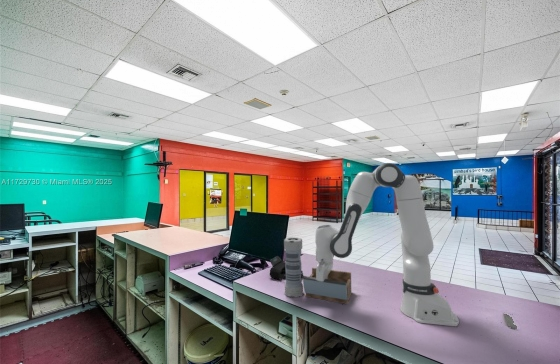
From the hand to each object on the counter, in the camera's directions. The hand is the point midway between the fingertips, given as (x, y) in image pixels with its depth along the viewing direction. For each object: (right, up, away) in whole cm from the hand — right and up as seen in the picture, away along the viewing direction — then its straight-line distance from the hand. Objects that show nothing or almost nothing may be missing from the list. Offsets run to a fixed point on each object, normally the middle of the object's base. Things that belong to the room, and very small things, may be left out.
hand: (325, 283), depth 125 cm
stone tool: (+76, -8, -21) cm, 79 cm away
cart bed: (+3, -9, +8) cm, 12 cm away
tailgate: (0, -6, +1) cm, 6 cm away
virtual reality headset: (-18, -10, +35) cm, 41 cm away
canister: (-15, -10, +9) cm, 20 cm away
